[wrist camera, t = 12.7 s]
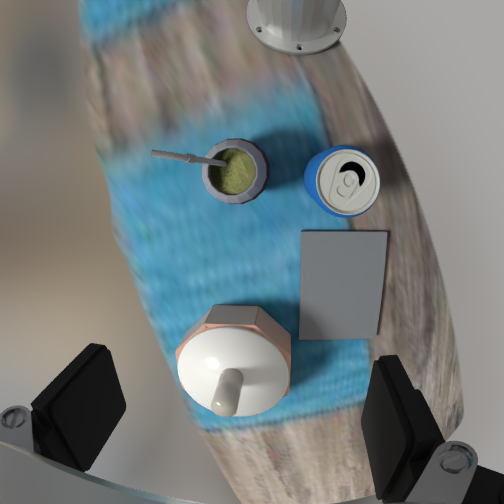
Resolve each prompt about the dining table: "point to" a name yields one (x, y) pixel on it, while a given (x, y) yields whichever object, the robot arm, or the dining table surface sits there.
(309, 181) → the beverage can
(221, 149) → the mate gourd
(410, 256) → the dining table surface
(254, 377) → the lid
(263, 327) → the octagonal ring frame
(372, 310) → the mat
